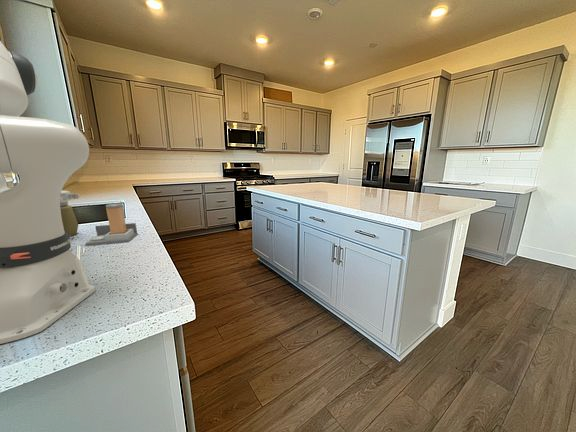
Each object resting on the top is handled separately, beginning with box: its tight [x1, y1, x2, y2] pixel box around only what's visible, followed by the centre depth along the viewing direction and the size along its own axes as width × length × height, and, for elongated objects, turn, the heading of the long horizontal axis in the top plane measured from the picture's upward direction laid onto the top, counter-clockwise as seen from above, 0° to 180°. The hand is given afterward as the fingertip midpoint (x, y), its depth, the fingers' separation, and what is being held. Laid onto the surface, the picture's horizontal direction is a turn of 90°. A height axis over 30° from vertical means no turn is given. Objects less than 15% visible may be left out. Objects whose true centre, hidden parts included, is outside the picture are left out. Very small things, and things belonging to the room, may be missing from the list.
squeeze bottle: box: [60, 200, 79, 237], centre depth 99 cm, size 8×8×18 cm
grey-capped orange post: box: [105, 202, 127, 234], centre depth 93 cm, size 5×5×13 cm
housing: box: [84, 222, 138, 247], centre depth 93 cm, size 10×14×5 cm
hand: (70, 197), depth 87 cm, fingers open, 8 cm apart
